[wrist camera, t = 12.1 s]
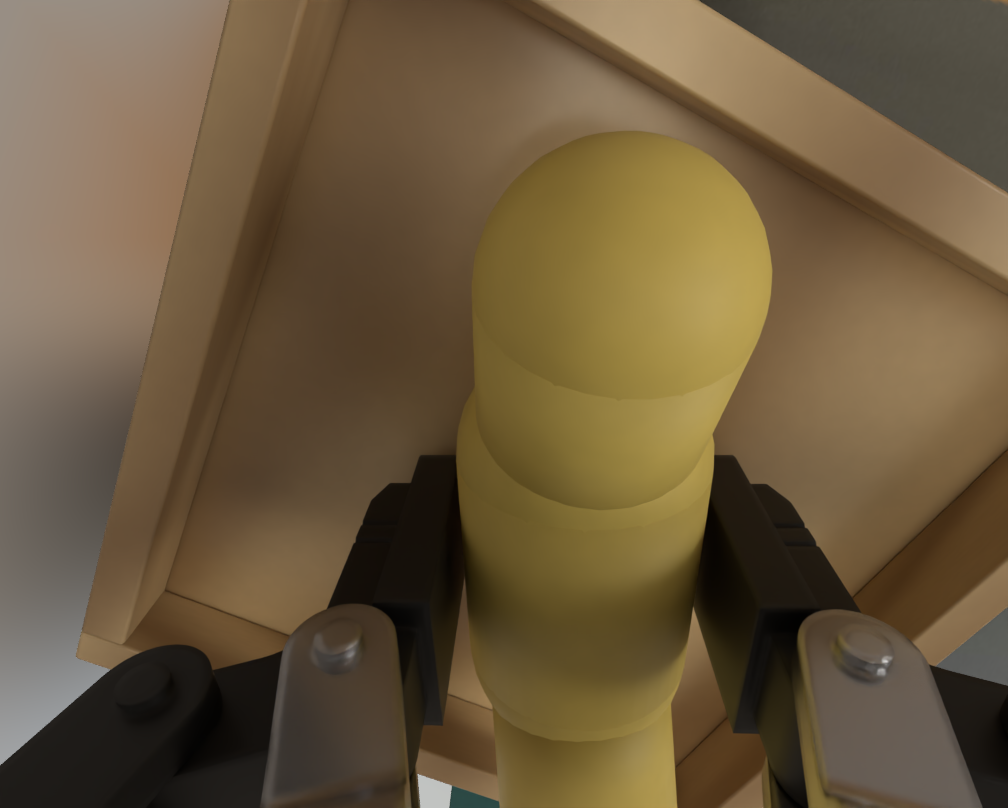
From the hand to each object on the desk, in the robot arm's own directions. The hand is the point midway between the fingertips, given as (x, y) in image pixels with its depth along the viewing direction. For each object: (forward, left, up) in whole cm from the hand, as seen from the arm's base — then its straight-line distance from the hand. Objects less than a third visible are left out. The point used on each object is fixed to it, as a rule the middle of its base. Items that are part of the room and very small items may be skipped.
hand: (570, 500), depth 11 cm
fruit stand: (0, 0, -22) cm, 22 cm away
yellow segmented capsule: (0, 0, 0) cm, 0 cm away
